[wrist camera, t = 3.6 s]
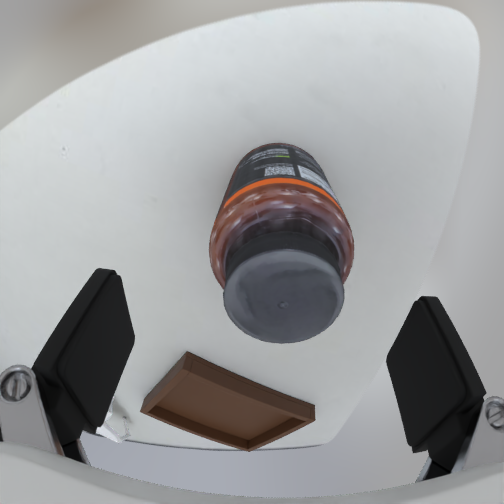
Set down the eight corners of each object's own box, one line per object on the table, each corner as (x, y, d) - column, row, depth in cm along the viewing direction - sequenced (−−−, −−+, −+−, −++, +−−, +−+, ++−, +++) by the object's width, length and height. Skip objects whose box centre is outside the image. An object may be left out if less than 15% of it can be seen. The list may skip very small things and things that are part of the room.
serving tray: (314, 405, 33) (315, 420, 31) (250, 439, 39) (249, 452, 37) (187, 351, 29) (182, 368, 27) (144, 398, 35) (139, 412, 33)
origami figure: (65, 383, 36) (52, 409, 32) (88, 373, 33) (74, 403, 29) (123, 424, 41) (116, 449, 37) (154, 419, 38) (146, 447, 34)
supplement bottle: (264, 241, 22) (254, 378, 12) (213, 172, 19) (152, 279, 10) (340, 200, 20) (393, 324, 10) (294, 122, 17) (321, 182, 8)
